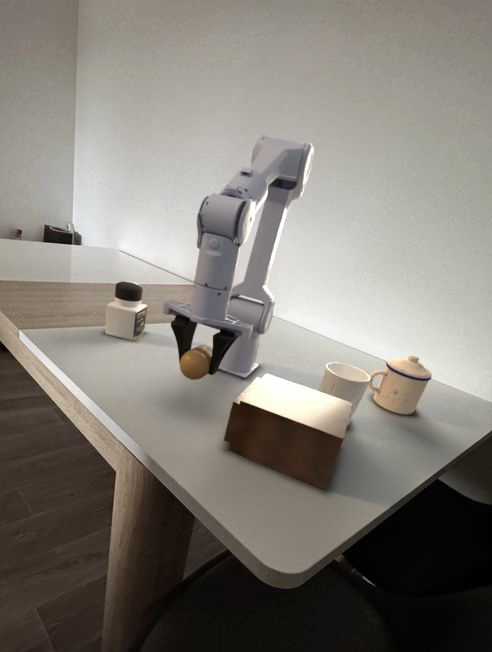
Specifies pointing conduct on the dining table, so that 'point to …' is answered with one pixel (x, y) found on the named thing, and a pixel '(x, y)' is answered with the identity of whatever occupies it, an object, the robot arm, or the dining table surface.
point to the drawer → (236, 411)
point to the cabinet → (291, 429)
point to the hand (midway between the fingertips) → (197, 367)
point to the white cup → (345, 383)
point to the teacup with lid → (401, 384)
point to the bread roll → (196, 362)
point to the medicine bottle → (126, 312)
